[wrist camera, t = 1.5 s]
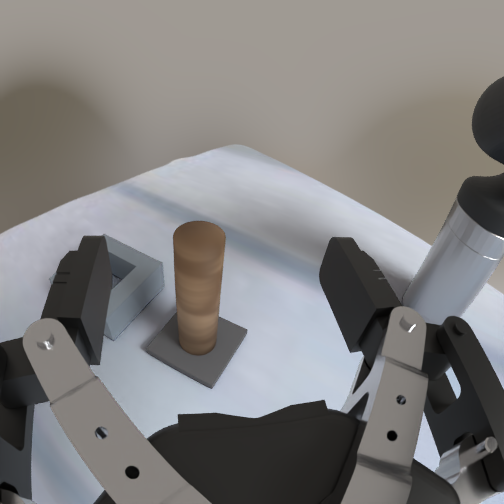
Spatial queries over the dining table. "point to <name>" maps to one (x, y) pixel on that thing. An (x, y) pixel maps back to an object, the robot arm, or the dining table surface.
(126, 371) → the dining table surface
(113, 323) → the socket block
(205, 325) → the walnut peg
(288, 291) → the dining table surface
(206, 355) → the pad
